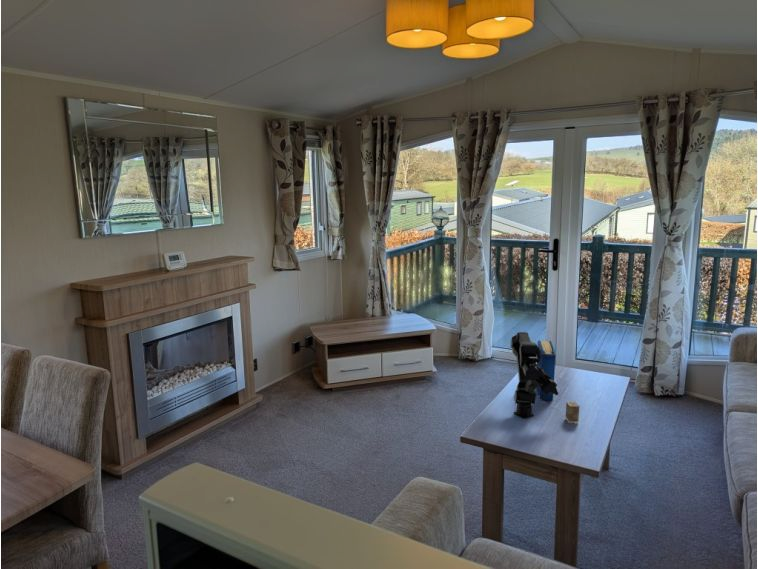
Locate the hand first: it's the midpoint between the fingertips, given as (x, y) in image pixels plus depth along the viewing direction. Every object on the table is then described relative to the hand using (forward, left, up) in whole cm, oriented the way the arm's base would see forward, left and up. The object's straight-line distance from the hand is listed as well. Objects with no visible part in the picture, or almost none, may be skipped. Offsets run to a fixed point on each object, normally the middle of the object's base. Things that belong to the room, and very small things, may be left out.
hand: (557, 394), depth 230 cm
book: (-26, +18, -13) cm, 34 cm away
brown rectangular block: (+3, +6, -13) cm, 14 cm away
